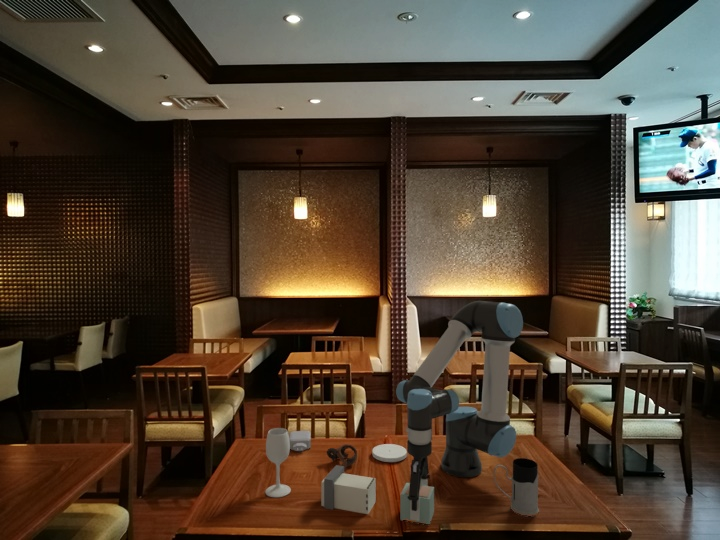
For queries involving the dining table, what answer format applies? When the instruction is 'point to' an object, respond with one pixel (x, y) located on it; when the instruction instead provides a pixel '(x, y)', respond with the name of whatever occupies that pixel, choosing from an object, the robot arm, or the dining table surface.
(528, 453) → the dining table surface
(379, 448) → the plastic lid
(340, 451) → the brown hollow ring
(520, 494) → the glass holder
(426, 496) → the retro monitor box
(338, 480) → the cream rectangular block
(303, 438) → the charger
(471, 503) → the dining table surface
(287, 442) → the wineglass
